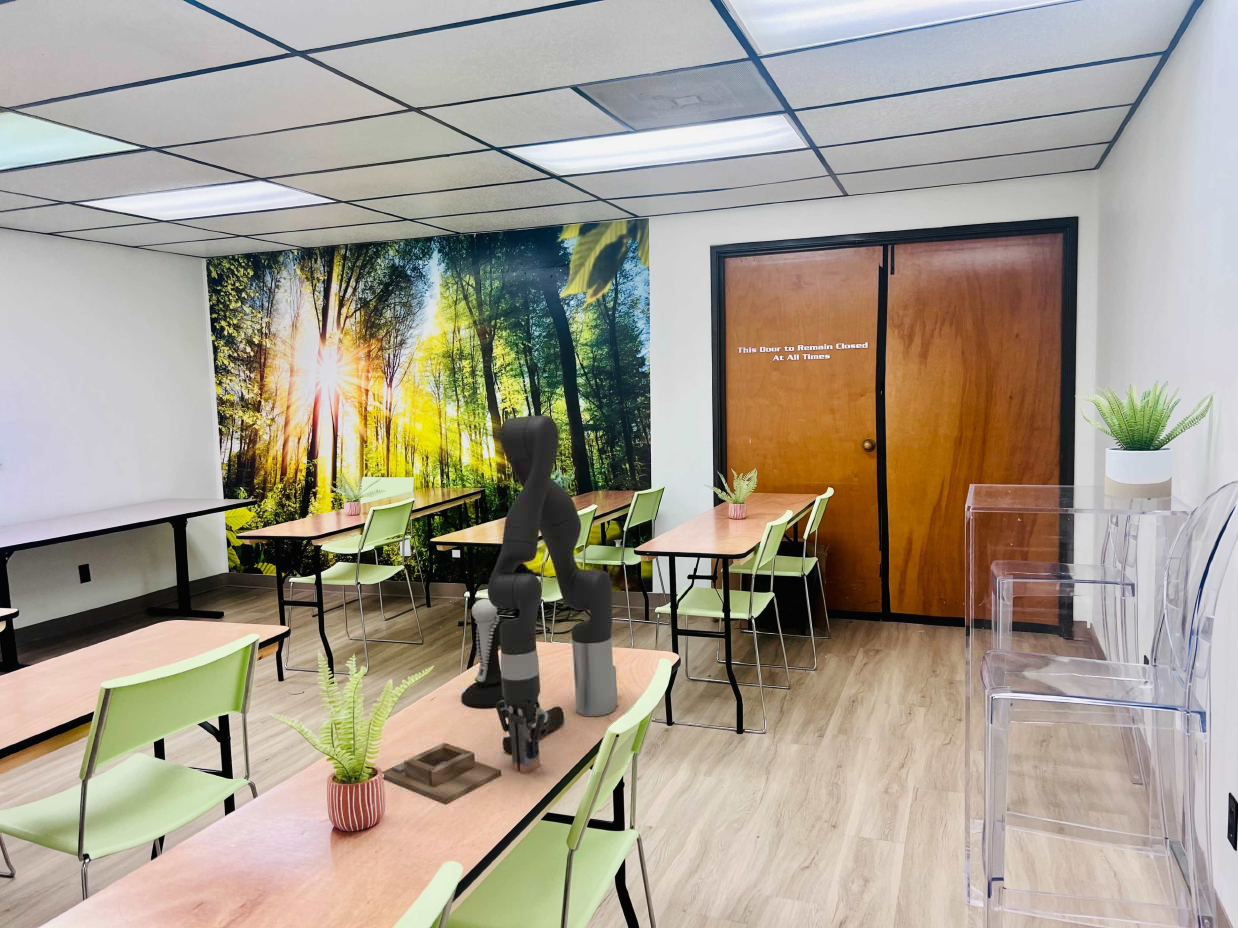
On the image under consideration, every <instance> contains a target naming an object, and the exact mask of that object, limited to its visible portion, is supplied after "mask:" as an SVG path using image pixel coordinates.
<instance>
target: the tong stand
mask: <svg viewBox="0 0 1238 928" xmlns="http://www.w3.org/2000/svg"><path fill="white" fill-rule="evenodd" d="M475 758H476V757H475V752H473V751H472V750H471V751H470V750H467V749H465V748H461V747H459V746H455V745H453V744H449V743H446V742H442V743H441V744H438V745H436V746H433V747H431V748H429V749H426V750H424V751H423V752H421V753H418V754H417V755H414V756H412V757H409V758H408V759H405V760H404V761H402V762H400V763H398V764H396V765H394V766H391V767H389V768H387V769H385V770H384V771H381V772H382V773H383V774H384V778H385V779H384V780H385V781H388V782H390V783H393V784H396V785H398V786H401V787H403V788H405V789H408V790H411V791H413V792H415V793H418V794H421V795H422V796H425V797H428V798H430V799H433V800H434V801H438V802H440V803H442V804H444V805H447V804H449V803H451V802H452V801H455V800H457V799H459V798H460V797H462V796H464V795H466V794H469V792H472V791H474V790H475V789H477V788H479V787H481V786H483V785H485V784H487V783H489V782H491V781H493V780H495V779H496V778H498V777H500V776H502V770H501V769H499V768H497V767H493V766H491V765H487V764H485V763H481V762H479V761H477V760H476V759H475Z"/></svg>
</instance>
